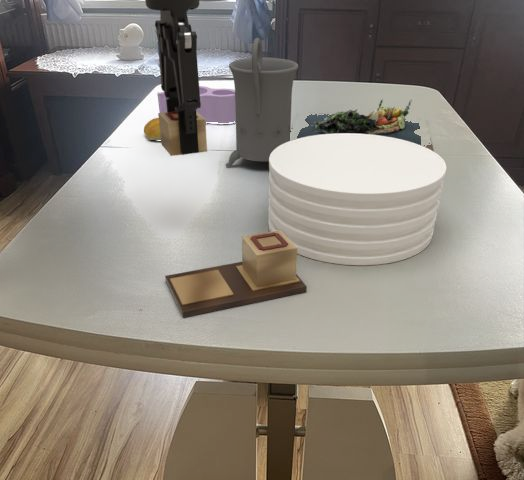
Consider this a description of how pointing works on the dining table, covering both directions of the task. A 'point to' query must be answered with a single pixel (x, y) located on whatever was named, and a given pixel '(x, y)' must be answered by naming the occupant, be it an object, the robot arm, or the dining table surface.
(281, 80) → the mug
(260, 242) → the letter O
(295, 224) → the plate stack
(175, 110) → the robot arm
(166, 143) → the letter G
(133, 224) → the dining table surface
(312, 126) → the plated dish
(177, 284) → the word board
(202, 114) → the purple block with holes
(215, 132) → the dining table surface
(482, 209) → the dining table surface
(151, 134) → the bread roll
